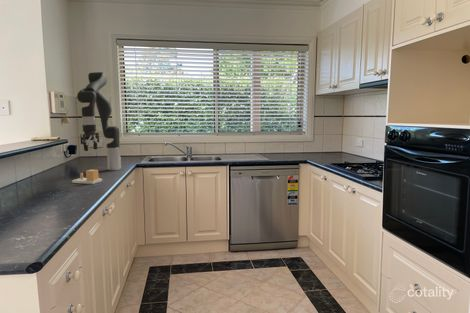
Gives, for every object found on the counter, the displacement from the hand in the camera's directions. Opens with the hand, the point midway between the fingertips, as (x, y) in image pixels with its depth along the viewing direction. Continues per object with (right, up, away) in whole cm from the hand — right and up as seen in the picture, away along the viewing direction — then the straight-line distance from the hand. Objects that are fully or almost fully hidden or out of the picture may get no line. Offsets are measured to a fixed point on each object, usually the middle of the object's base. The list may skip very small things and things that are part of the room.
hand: (90, 150), depth 200 cm
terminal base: (-4, -20, +3) cm, 21 cm away
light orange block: (0, -19, +2) cm, 19 cm away
